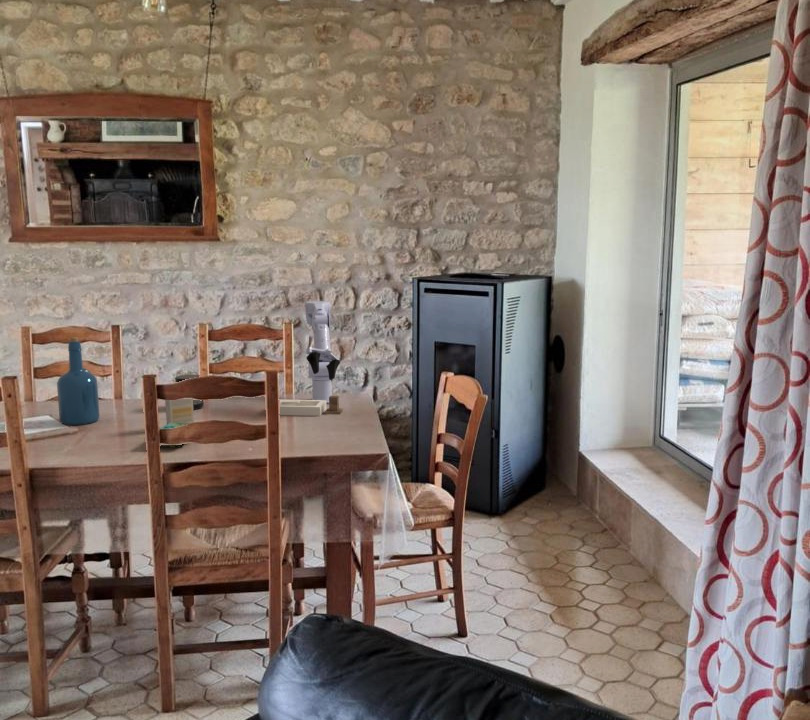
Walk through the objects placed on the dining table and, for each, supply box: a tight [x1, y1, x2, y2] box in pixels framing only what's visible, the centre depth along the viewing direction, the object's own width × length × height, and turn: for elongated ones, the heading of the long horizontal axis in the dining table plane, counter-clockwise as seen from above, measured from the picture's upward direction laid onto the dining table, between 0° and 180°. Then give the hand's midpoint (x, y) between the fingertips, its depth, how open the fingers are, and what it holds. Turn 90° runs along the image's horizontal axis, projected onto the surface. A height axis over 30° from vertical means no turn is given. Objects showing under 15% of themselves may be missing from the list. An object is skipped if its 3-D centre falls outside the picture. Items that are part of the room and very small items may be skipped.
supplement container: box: [174, 374, 205, 411], centre depth 307 cm, size 10×10×12 cm
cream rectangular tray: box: [279, 399, 327, 417], centre depth 300 cm, size 12×20×3 cm, turn 85°
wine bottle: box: [56, 336, 101, 426], centre depth 285 cm, size 14×13×30 cm
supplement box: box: [164, 399, 195, 425], centre depth 276 cm, size 8×5×13 cm, turn 124°
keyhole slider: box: [324, 395, 344, 415], centre depth 299 cm, size 6×6×6 cm
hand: (324, 375), depth 295 cm, fingers open, 7 cm apart
